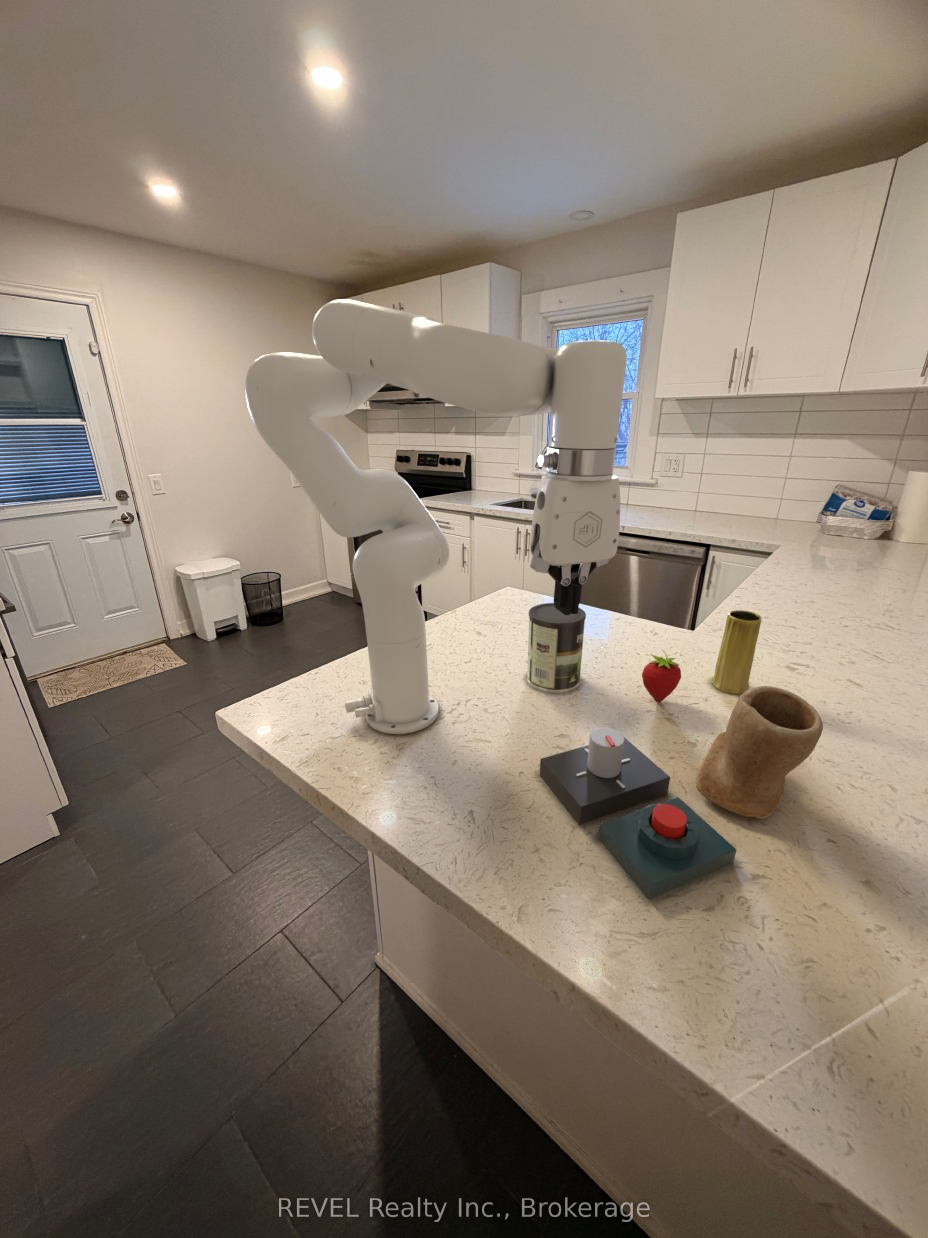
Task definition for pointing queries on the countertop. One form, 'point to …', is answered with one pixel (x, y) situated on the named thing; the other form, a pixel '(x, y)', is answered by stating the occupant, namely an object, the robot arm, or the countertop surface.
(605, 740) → the hob knob
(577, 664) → the coffee can
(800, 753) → the stone cup
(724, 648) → the vase
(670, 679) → the strawberry
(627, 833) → the button block
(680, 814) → the button
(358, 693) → the countertop surface
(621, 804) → the hob panel
